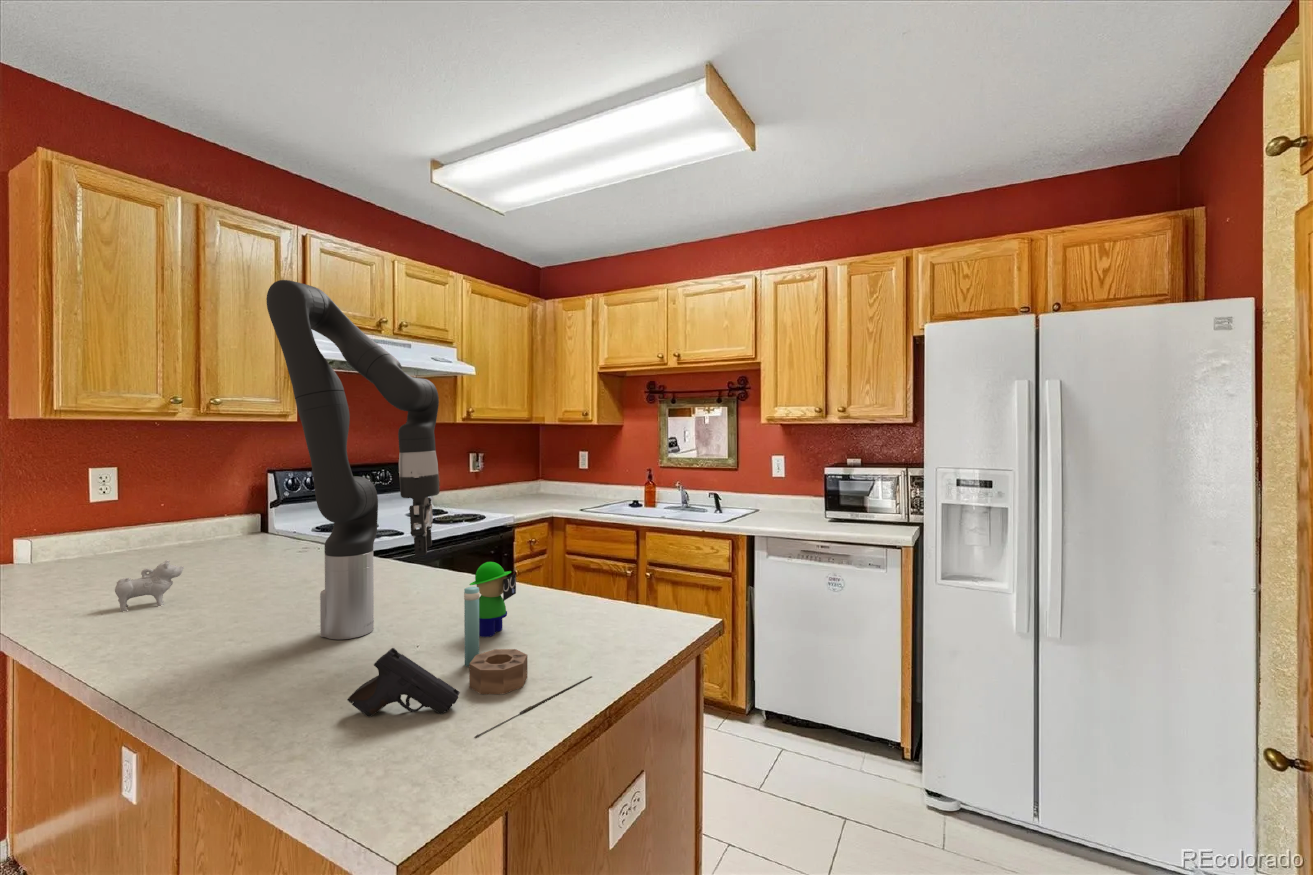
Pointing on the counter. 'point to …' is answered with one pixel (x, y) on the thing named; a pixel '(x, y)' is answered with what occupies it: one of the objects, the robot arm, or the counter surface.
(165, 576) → the grey pig charm
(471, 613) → the teal capped tube
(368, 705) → the handgun
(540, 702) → the paintbrush
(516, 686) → the bead
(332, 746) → the counter surface
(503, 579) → the toy
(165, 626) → the counter surface
